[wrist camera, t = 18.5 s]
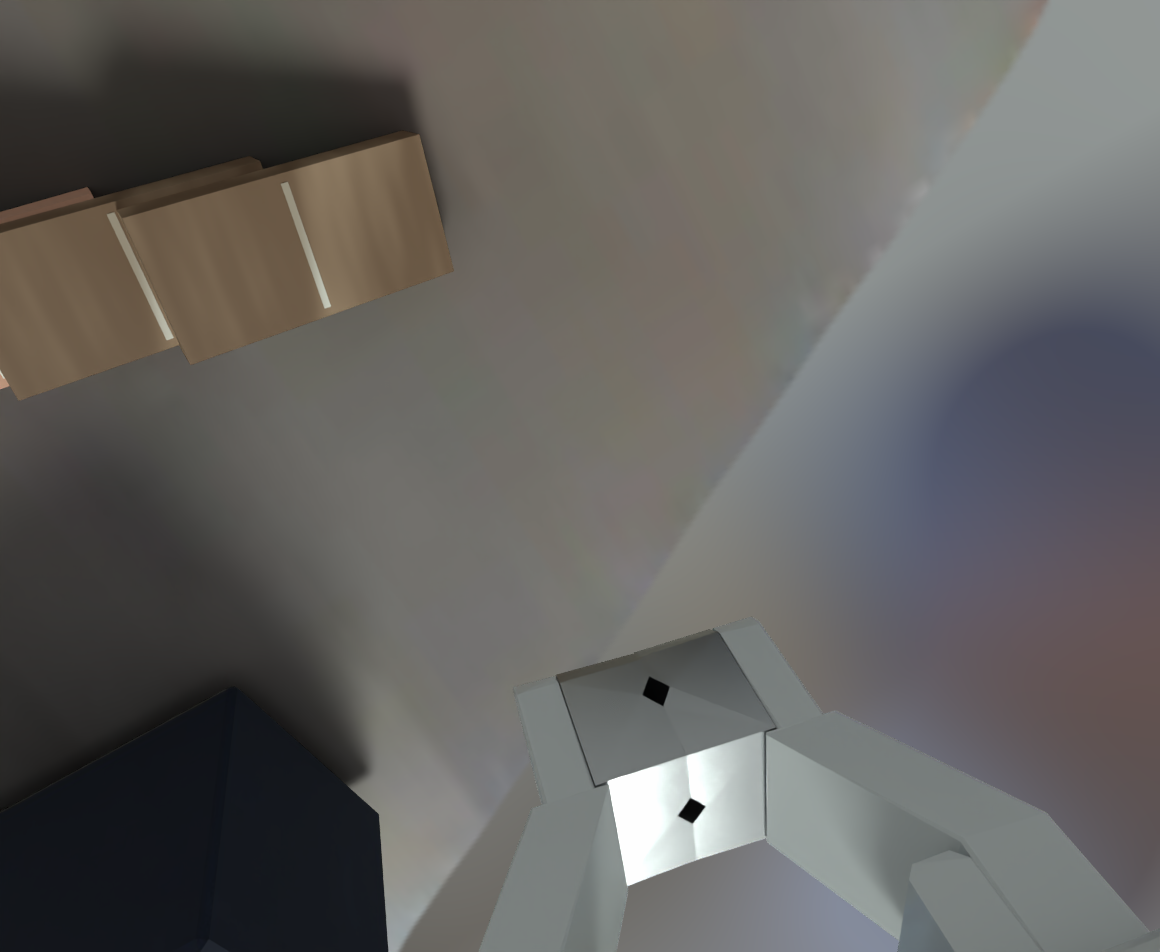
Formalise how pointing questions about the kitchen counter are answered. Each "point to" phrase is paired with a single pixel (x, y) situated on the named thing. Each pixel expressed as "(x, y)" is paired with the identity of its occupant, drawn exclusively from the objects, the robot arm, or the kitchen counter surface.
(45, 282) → the domino
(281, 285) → the domino
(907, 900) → the robot arm
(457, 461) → the kitchen counter surface
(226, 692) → the speaker
